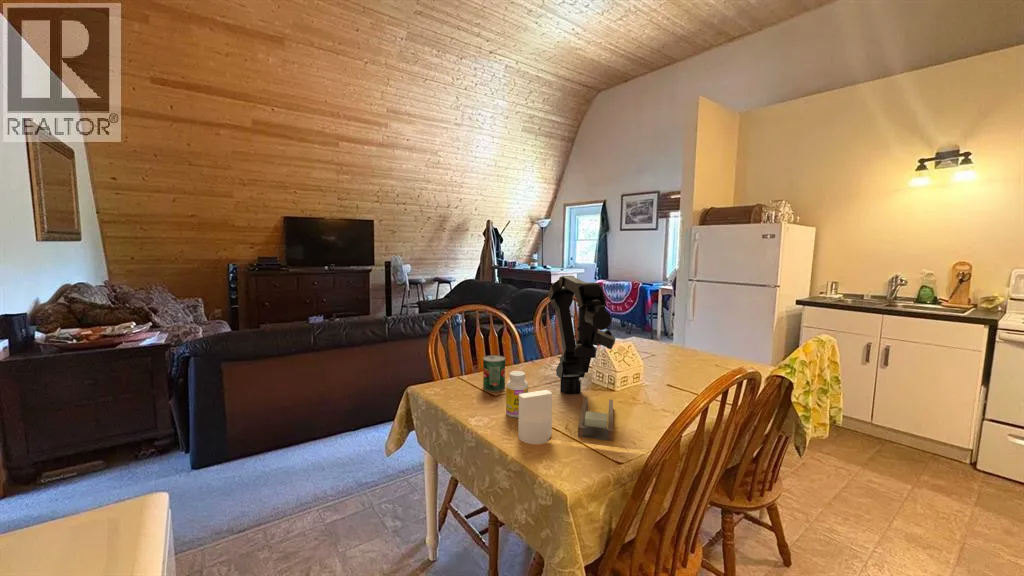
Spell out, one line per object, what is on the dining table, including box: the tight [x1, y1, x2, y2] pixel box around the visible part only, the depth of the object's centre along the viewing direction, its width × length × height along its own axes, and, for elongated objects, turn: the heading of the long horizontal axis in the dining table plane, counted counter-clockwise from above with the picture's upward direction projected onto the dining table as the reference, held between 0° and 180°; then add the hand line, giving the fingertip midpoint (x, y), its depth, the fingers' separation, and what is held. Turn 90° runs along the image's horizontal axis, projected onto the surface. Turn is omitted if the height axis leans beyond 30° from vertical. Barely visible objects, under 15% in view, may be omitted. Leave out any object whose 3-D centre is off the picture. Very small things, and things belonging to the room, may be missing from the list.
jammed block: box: [584, 411, 608, 429], centre depth 114 cm, size 6×5×4 cm
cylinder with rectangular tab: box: [517, 389, 553, 445], centre depth 113 cm, size 9×9×12 cm
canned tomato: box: [482, 354, 506, 393], centre depth 150 cm, size 8×8×11 cm
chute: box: [577, 396, 614, 442], centre depth 121 cm, size 9×22×4 cm, turn 166°
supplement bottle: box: [505, 370, 529, 419], centre depth 127 cm, size 7×7×13 cm
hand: (586, 372), depth 131 cm, fingers closed
